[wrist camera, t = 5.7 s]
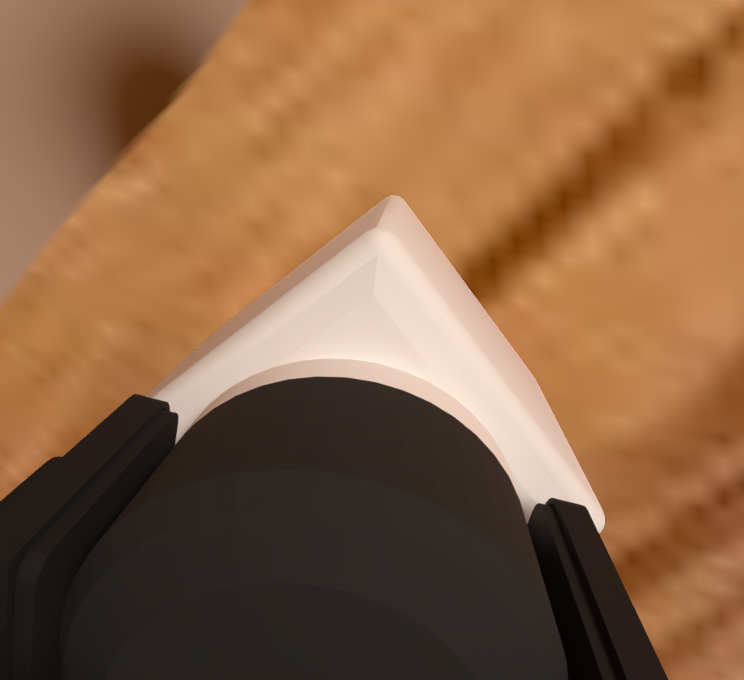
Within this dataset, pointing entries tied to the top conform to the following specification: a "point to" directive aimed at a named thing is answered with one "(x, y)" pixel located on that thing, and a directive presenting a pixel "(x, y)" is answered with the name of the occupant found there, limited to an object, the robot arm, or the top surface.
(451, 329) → the medicine bottle
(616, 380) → the top surface
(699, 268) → the top surface
